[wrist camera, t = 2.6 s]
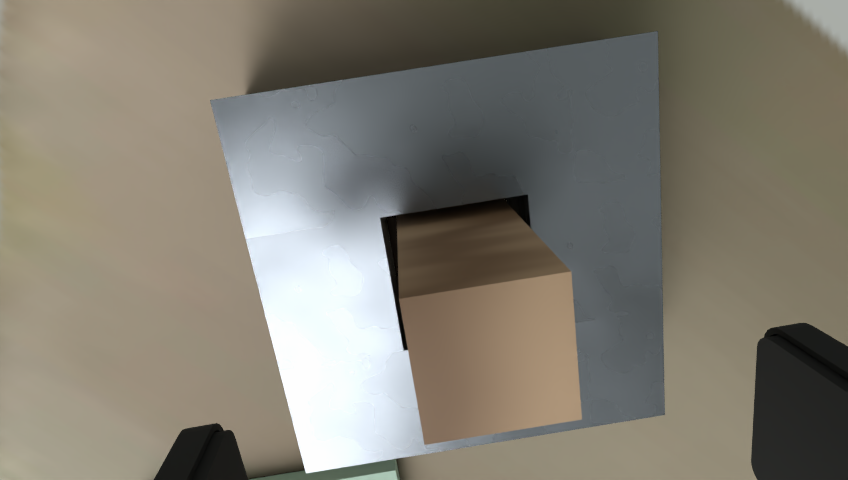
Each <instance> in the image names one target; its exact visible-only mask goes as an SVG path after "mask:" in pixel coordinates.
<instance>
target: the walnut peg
mask: <svg viewBox="0 0 848 480" xmlns="http://www.w3.org/2000/svg"><path fill="white" fill-rule="evenodd" d="M397 246H398V280H399V302H400V307H401V313H402V319H403V324H404V330H405V336H406V342H407V347H408V353H409V359H410V365H411V370H412V376H413V382H414V387H415V393H416V399H417V405H418V410H419V416H420V422H421V427H422V433H423V439H424V445H428V444H434V443H440V442H446V441H452V440H459V439H465V438H471V437H477V436H483V435H489V434H496V433H502V432H508V431H514V430H520V429H526V428H532V427H539V426H545V425H551V424H557V423H563V422H569V421H575V420H582V414H581V400H580V386H579V372H578V358H577V344H576V330H575V316H574V302H573V288H572V274H571V271H570V270H569V269H568V267H567V266H566V265H565V264H564V263H563V262H562V261H561V260H560V259H559V258H558V257H557V256H556V255H555V254H554V253H553V251H552V250H551V249H550V248H549V247H548V246H547V245H546V244H545V243H544V242H543V241H542V240H541V239H540V238H539V237H538V236H537V234H536V233H535V232H534V231H533V230H532V229H531V228H530V227H529V226H528V225H527V224H526V223H525V222H524V221H523V220H522V218H521V217H520V216H519V215H518V214H517V213H516V212H515V211H514V210H513V209H512V208H511V207H510V206H509V205H508V204H507V203H506V201H505V200H504V199H503V198H502V199H496V200H489V201H483V202H477V203H470V204H464V205H458V206H451V207H445V208H439V209H432V210H426V211H419V212H413V213H407V214H400V215H397Z"/></svg>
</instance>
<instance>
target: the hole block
mask: <svg viewBox="0 0 848 480" xmlns="http://www.w3.org/2000/svg"><path fill="white" fill-rule="evenodd" d="M210 102H211V106H212V110H213V113H214V117H215V121H216V125H217V129H218V133H219V137H220V141H221V145H222V148H223V152H224V156H225V160H226V164H227V168H228V172H229V176H230V180H231V184H232V187H233V191H234V195H235V199H236V203H237V207H238V211H239V215H240V219H241V222H242V226H243V230H244V234H245V238H246V242H247V246H248V250H249V254H250V257H251V261H252V265H253V269H254V273H255V277H256V281H257V285H258V289H259V292H260V296H261V300H262V304H263V308H264V312H265V316H266V320H267V324H268V328H269V331H270V335H271V339H272V343H273V347H274V351H275V355H276V359H277V363H278V366H279V370H280V374H281V378H282V382H283V386H284V390H285V394H286V398H287V401H288V405H289V409H290V413H291V417H292V421H293V425H294V429H295V433H296V436H297V440H298V444H299V448H300V452H301V456H302V460H303V464H304V468H305V472H306V473H312V472H318V471H324V470H330V469H336V468H342V467H348V466H354V465H361V464H367V463H373V462H379V461H385V460H391V459H397V458H403V457H410V456H416V455H422V454H428V453H434V452H440V451H446V450H453V449H459V448H465V447H471V446H477V445H483V444H489V443H495V442H502V441H508V440H514V439H520V438H526V437H532V436H538V435H544V434H551V433H557V432H563V431H569V430H575V429H581V428H587V427H593V426H600V425H606V424H612V423H618V422H624V421H630V420H636V419H642V418H649V417H655V416H661V415H665V404H664V349H663V294H662V238H661V183H660V128H659V73H658V31H656V32H649V33H643V34H636V35H630V36H623V37H617V38H610V39H604V40H597V41H591V42H584V43H578V44H571V45H565V46H558V47H552V48H546V49H539V50H533V51H526V52H520V53H513V54H507V55H500V56H494V57H487V58H481V59H474V60H468V61H461V62H455V63H448V64H442V65H435V66H429V67H422V68H416V69H410V70H403V71H397V72H390V73H384V74H377V75H371V76H364V77H358V78H351V79H345V80H338V81H332V82H325V83H319V84H312V85H306V86H299V87H293V88H287V89H280V90H274V91H267V92H261V93H254V94H248V95H241V96H235V97H228V98H222V99H215V100H210ZM502 198H506V199H507V204H508V205H509V206H510V207H511V208H512V209H513V210H514V211H515V212H516V213H517V214H518V215H519V216H520V217H521V218H522V220H523V221H524V222H525V223H526V224H527V225H528V226H529V227H530V228H531V229H532V230H533V231H534V232H535V233H536V234H537V236H538V237H539V238H540V239H541V240H542V241H543V242H544V243H545V244H546V245H547V246H548V247H549V248H550V249H551V250H552V251H553V253H554V254H555V255H556V256H557V257H558V258H559V259H560V260H561V261H562V262H563V263H564V264H565V265H566V266H567V267H568V269H569V270H570V271H571V274H572V288H573V302H574V316H575V330H576V344H577V358H578V372H579V386H580V400H581V414H582V420H575V421H569V422H563V423H557V424H551V425H545V426H539V427H532V428H526V429H520V430H514V431H508V432H502V433H496V434H489V435H483V436H477V437H471V438H465V439H459V440H452V441H446V442H440V443H434V444H428V445H424V439H423V433H422V427H421V422H420V416H419V410H418V405H417V399H416V393H415V387H414V382H413V376H412V370H411V365H410V359H409V353H408V347H407V342H406V336H405V330H404V324H403V319H402V313H401V307H400V302H399V288H398V282H397V276H396V271H395V265H394V259H393V253H392V248H391V242H390V236H389V230H388V225H387V219H386V217H388V216H394V215H400V214H407V213H413V212H419V211H426V210H432V209H439V208H445V207H451V206H458V205H464V204H470V203H477V202H483V201H489V200H496V199H502Z"/></svg>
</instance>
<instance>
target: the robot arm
mask: <svg viewBox="0 0 848 480" xmlns="http://www.w3.org/2000/svg"><path fill="white" fill-rule="evenodd" d="M751 463H752V468H753V471H754V474H755V476H756V478H757V480H848V346H846V345H844V344H842V343H841V342H839V341H837V340H836V339H834V338H832V337H830V336H829V335H827V334H825V333H824V332H822V331H820V330H819V329H817V328H815V327H813V326H812V325H809V324H807V323H798V324H792V325H786V326H780V327H774V328H770V329H769V330H767V332H766V333H765V336H764V338H762V339H760V340H759V342H758V346H757V360H756V380H755V399H754V418H753V437H752V456H751ZM154 480H248V478H247V475H246V471H245V468H244V465H243V462H242V458H241V455H240V452H239V448H238V445H237V442H236V439H235V436H234V433H233V432H232V431H231V430H226V431H224V430H223V428H222V427H221V425H220V424H217V423H216V424H210V425H204V426H198V427H192V428H187V429H184V430H182V431H181V433H180V434H179V436H178V437H177V439H176V441H175V443H174V444H173V446H172V448H171V450H170V452H169V453H168V455H167V457H166V459H165V461H164V462H163V464H162V466H161V468H160V470H159V471H158V473H157V475H156V477H155V478H154Z"/></svg>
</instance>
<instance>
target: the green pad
mask: <svg viewBox="0 0 848 480" xmlns="http://www.w3.org/2000/svg"><path fill="white" fill-rule="evenodd" d="M249 480H400V476H399V471H398V466H397V461H396V459H391V460H385V461H379V462H373V463H367V464H361V465H354V466H348V467H342V468H336V469H330V470H324V471H318V472H312V473H306V472H305V470H304V471H298V472H292V473H286V474H280V475H273V476H267V477H261V478H255V479H249Z"/></svg>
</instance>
